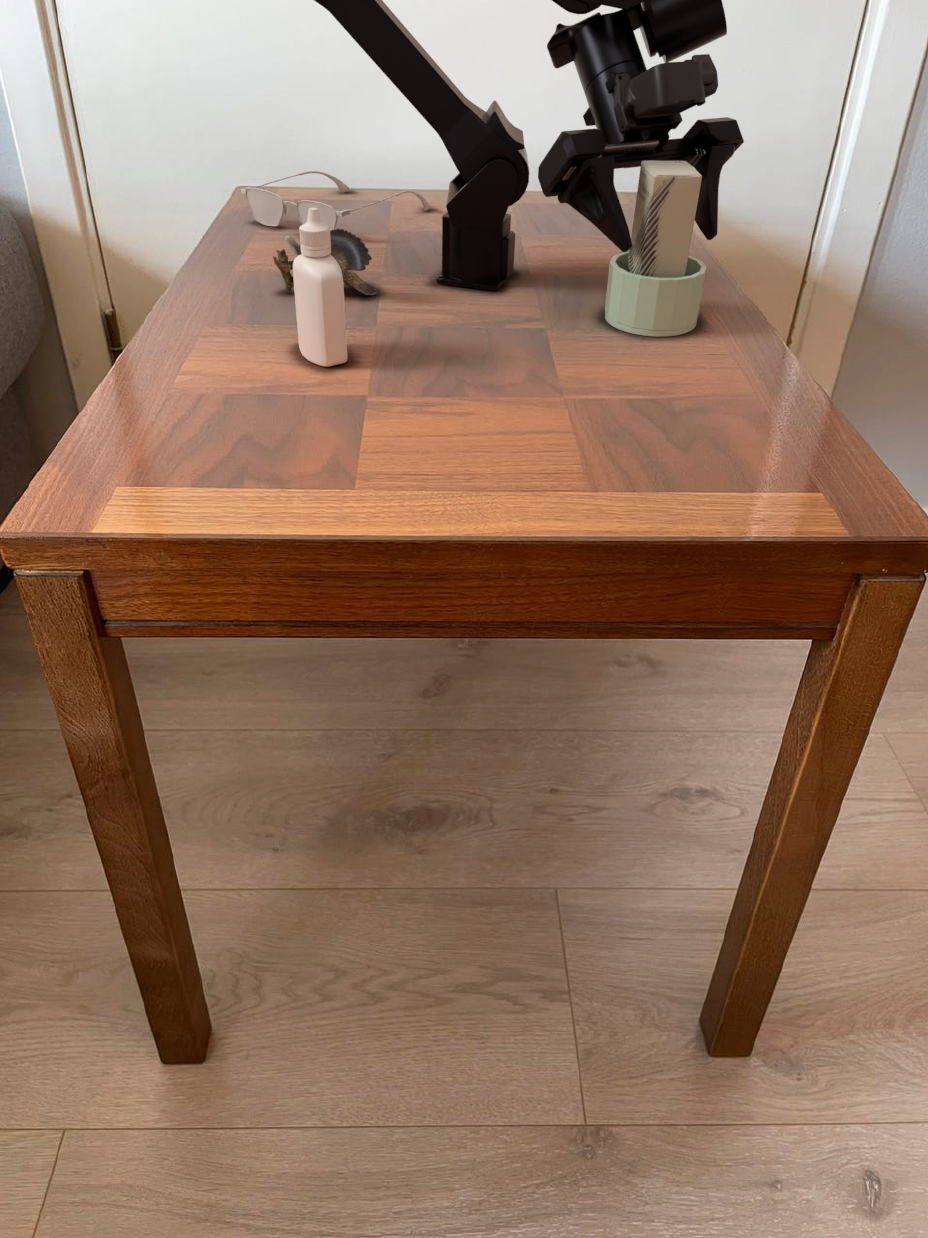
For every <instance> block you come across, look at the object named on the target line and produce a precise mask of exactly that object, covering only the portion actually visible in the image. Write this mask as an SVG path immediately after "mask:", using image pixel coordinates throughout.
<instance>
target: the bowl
mask: <svg viewBox="0 0 928 1238" xmlns="http://www.w3.org/2000/svg"><path fill="white" fill-rule="evenodd" d="M628 257H629V251H628V252H622V251H621V252H620V253H618V254H615V255H613V256H612V257H611V259H610V260H609V266H608V275H607V284H606V285H607V286H606V295H605V301H604V302H605V303H604V319H605V321H606V323H608V324H609V325H610V326H612V327H613V328H615V329H617V330H619V331H622V332H625V333H628V334H633V335H636V336H637V335H638V336H643V337H659V338H660V337H661V338H662V337H674V336H680V335H684V334H687V333H689V332H691V331H693V330H694V329H695V328H696V326H697V324H698V318H699V315H700V309H701V304H702V299H703V298H702V297H703V292H704V285H705V281H706V274H707V268H708V266H706V264H705V263H704V262H703V261H702V260H701V259H698V258H696V257H695V256H692V255H688V261H687V266H686V272H685V277H679V278H658V277H649V276H642V275H638V274H635V273H631V272H628V271H627V264H628Z"/></svg>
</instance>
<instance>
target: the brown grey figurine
mask: <svg viewBox="0 0 928 1238" xmlns="http://www.w3.org/2000/svg"><path fill="white" fill-rule="evenodd" d="M330 238H331V253H330V254H331V255H332V257H333V258H334V259H335V260H336V261H337V263H338V264H339V266H340V268H341V271H342V275H343V284H347V285H348V286H350V287H352V288H353V289H355V290H357V291H358V292H360V293H361V294H363V295H365V296H371V297H372V296H374V295H375V296H377V293H378V291H377V290H376V288H375V287H373V286H372V285H370V284H368V283H367V282H366V281H365V280H363V279H362V278H361V277H360V276H359V275H358V274H357V273H356V272H362V271H365V270H366V269H367V267H366V266H369V265H370V261H371V260H372V255H371V254H370V253H369V251H370V250H369V248H368V247H367V246H366V243H364V242H363V241H362V239H361V237H358V236H357V235H356V234H354V233H352V232H351V231H348V230H345V229H343V228H335V230H330ZM284 239H285V242H286V243H287V244H288V247H289V249H290V250H292V252H293V253H294V254H295V255H296V257H297V256H299V255H301V254H302V253H301V247H300V243H298V242H297V241H296V240H295V239H294V238H293V237H292V236H291V235H286V236H285V238H284ZM275 252H276V253H277V256H276V255H273V256H272V259H273V262H274V265H275V266H276V267H277V269H278V270H279V272H280V273H281V276H282V279H283V280H284V284H285V292H286V293H290V292H292V290H293V289H294V280H293V274H291V271H293V262H294V260H289V256H288V255H287V251H286V249H284V248H282V249H281V250H278V249H276V250H275Z"/></svg>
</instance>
